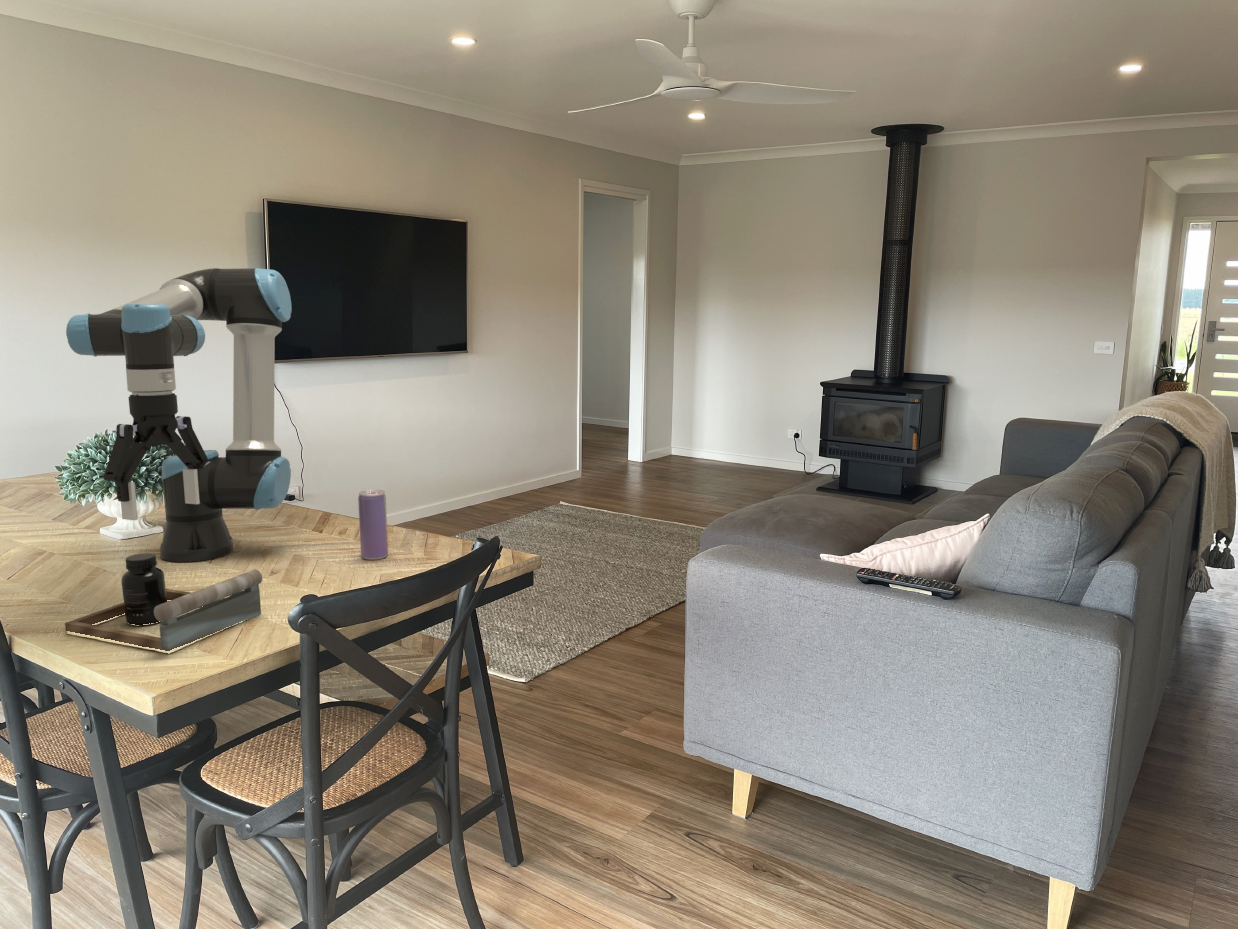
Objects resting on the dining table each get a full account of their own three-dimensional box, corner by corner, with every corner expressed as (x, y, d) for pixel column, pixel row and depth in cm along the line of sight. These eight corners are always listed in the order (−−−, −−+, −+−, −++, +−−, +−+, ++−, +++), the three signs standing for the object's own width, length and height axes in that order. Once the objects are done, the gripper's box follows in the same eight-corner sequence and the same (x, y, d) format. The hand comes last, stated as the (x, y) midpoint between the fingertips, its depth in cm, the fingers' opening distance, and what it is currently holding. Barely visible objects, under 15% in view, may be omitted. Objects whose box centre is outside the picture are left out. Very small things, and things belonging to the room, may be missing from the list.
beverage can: (380, 561, 196) (377, 495, 193) (356, 559, 197) (352, 494, 194) (392, 554, 201) (390, 490, 199) (368, 552, 203) (365, 488, 200)
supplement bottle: (136, 614, 162) (130, 551, 160) (174, 613, 163) (169, 550, 160) (118, 627, 155) (111, 562, 153) (158, 626, 156) (152, 561, 154)
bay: (64, 634, 152) (59, 588, 150) (166, 597, 171) (162, 555, 170) (170, 655, 143) (165, 606, 142) (264, 614, 162) (261, 570, 161)
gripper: (105, 400, 141) (117, 528, 145) (223, 388, 164) (231, 499, 168) (71, 398, 144) (84, 524, 148) (192, 386, 167) (200, 496, 171)
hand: (162, 511), depth 158 cm, fingers open, 13 cm apart
